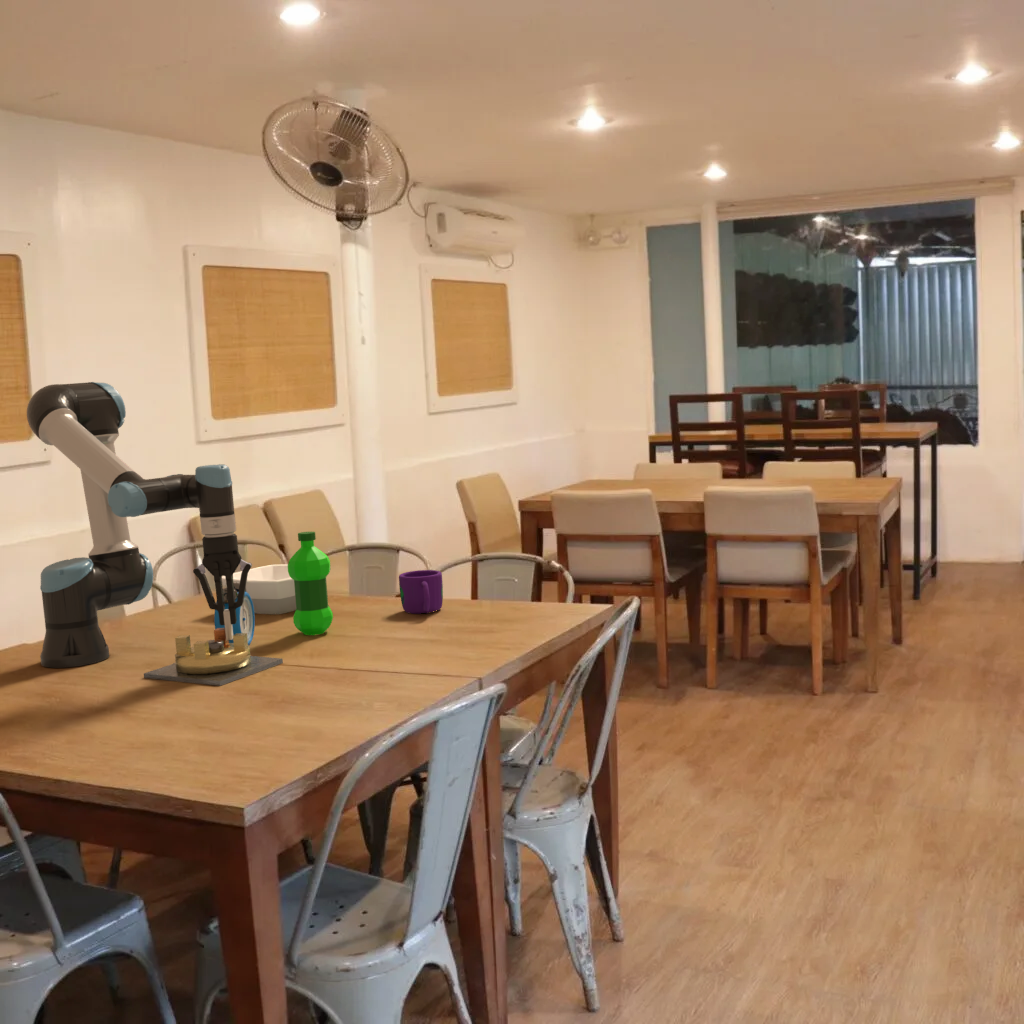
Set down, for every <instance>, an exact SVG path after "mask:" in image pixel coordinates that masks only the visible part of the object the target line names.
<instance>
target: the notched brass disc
mask: <svg viewBox="0 0 1024 1024" xmlns="http://www.w3.org/2000/svg"><path fill="white" fill-rule="evenodd" d="M213 635H214V639H210V640H208V639H207V640H198V641H196V642H194V643H193V646H191V636H190V635H188V634H187V635H178V636H177V637H174V641H175V642H174V643H175V650H176V651H175V654H174V663H176V670H177V671H179V672H181V673H188V674H207V673H217V672H224V671H229V670H233V669H237V668H240V667H243V666H245V665H247V664H249V663H250V662H251V657H250V656H251V648H250V645H249V646H248V638H247V633H236V634H235V635H234V636H233V642H234V643H229V640H226V633H225V628H217V629H215V628H214V629H213Z"/></svg>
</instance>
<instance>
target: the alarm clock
mask: <svg viewBox="0 0 1024 1024" xmlns="http://www.w3.org/2000/svg"><path fill="white" fill-rule="evenodd" d="M233 584H234V595H235V602H237V598H238V591H239V585H240V583H237V582H236V583H233ZM223 595H224V604H225V609H228V608H229V606H228V595H227V587H226V586H225V587H223ZM215 602H216V603H217V600H215ZM213 616H214V620H213V622H214V623H213V624H214V630H215V629H217V628H225V625H220V622H219V613H218V611H217V610H214V615H213ZM236 618H237V621H236V624H232V627H233V636H234V635H235V634H236V633H247V638H248V646H249V647H250V645H251V643H252V642H253V639H254V634H255V628H256V627H255V623H256V622H255V621H256V619H255V618H256V617H255V613H254V607H253V602H252V599H251V597H250V595H249V594H248V593H247V590H246V589H245V595H244V601H243V604H242V606H241V607H238V608H236ZM229 643H234V642H233V639H232V640H229Z"/></svg>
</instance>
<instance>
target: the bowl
mask: <svg viewBox="0 0 1024 1024" xmlns="http://www.w3.org/2000/svg"><path fill="white" fill-rule="evenodd" d="M330 571H331V567H330ZM241 574H242V571H241V570H240V571H235V572H234V573H233V583H236V582H237V583H240V579H241ZM222 585H223V586H224V587H225V588H226V587H227V585H226V578H225V576H222ZM246 590H247V593H248V594H249V595H250V597H251V599H252V602H253V607H254V614H258V615H283V614H287V613H291V612H295V611H296V598H295V585H294V580H293V579H292V578H291V577H290V576H289V573H288V563H286V564H275V563H274V564H269V565H263V566H262V565H261V566H259V567H253V568H250V570H249V572H248V576H247V582H246Z"/></svg>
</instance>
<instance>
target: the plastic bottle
mask: <svg viewBox="0 0 1024 1024" xmlns="http://www.w3.org/2000/svg"><path fill="white" fill-rule="evenodd" d="M297 537H298V538H297V540H298V542H300V548H299V549H297V551H296V552H295V553H294V554H293V555H292V556H291V558H290V559H289V560H288V563H287V564H288V573H289V576H290V577H291V578H292V579H293V580H294V585H295V598H296V610H295V611H294V613H293V618H292V619H293V624H294V627H295V628H296V629H297V630H298V631H299V632H300V633H303V635H305V636H317V635H322V634H325V632H326V631H327V630H328V629H329V628H330V626H331V625H332V622H333V618H334V614H333V610H332V609H331V607H330V606H329V598H328V585H327V577H328V575H329V574H330V572H331V570H330V568H331V560H330V558H329V556H328V555H327V554H326V553H325V552H323V551H322V550H321V549H320V548H318V547H317V546H315V541H316V539H317V537H316V531H301V532H297Z"/></svg>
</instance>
